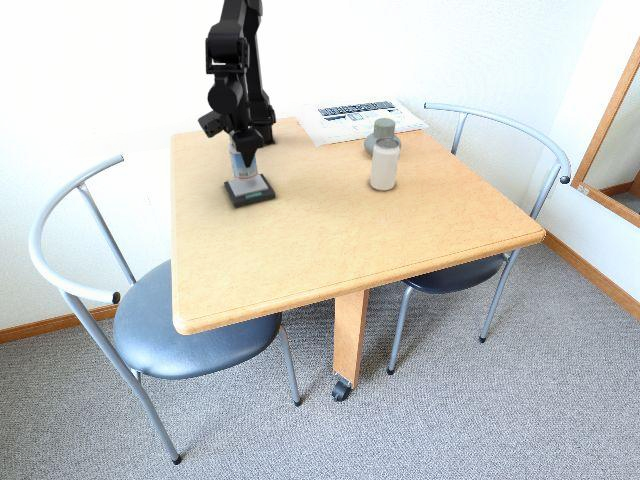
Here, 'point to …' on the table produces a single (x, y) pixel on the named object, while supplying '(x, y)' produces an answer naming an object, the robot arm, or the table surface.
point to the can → (384, 164)
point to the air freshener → (381, 133)
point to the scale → (249, 191)
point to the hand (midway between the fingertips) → (244, 161)
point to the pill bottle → (241, 164)
